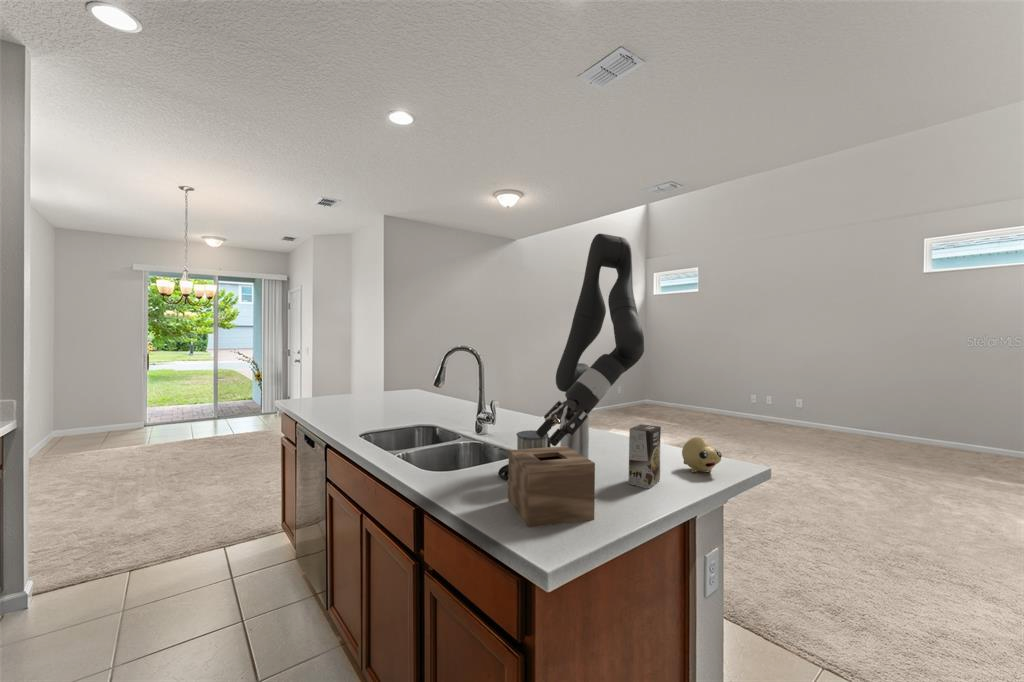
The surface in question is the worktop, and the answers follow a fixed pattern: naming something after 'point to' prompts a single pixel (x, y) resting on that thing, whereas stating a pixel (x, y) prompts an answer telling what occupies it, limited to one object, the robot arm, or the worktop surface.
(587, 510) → the coin box
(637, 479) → the coffee box
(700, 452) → the yellow creature figurine
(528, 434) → the milk frother
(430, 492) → the worktop surface
